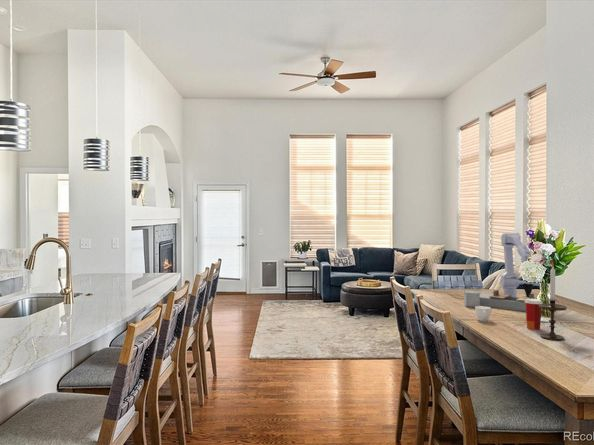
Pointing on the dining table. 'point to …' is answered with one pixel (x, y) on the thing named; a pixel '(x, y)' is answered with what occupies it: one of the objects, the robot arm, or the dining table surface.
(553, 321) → the candlestick
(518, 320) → the dining table surface
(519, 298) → the ash panel
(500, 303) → the lid box
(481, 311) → the cup
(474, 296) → the medicine box
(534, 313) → the paper cup
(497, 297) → the wooden sliding lid
